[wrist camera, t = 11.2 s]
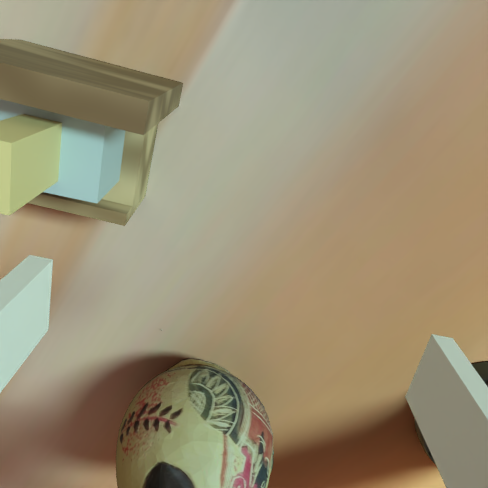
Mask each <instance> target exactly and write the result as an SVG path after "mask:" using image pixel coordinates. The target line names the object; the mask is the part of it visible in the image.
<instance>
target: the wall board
mask: <svg viewBox="0 0 488 488" xmlns="http://www.w3.org/2000/svg"><path fill="white" fill-rule="evenodd" d="M182 85H183V83H181V82H177V81H174V80H170V79H166V78H162V77H159V76H155V75H151V74H147V73H144V72H140V71H136V70H132V69H129V68H125V67H121V66H117V65H113V64H110V63H106V62H102V61H98V60H95V59H91V58H87V57H83V56H80V55H76V54H72V53H68V52H65V51H61V50H57V49H53V48H49V47H46V46H42V45H38V44H34V43H31V42H27V41H23V40H12V39H0V99H2V100H6V101H10V102H14V103H18V104H22V105H26V106H30V107H34V108H38V109H42V110H46V111H50V112H54V113H57V114H61V115H65V116H69V117H73V118H77V119H81V120H85V121H89V122H93V123H97V124H101V125H105V126H109V127H113V128H117V129H121V130H125V138H124V146H123V154H122V162H121V170H120V178H119V181H118V182H117V183H116V185H115V186H114V187H113V188H112V189H111V190H110V191H109V192H108V193H107V194H106V195H105V196H104V197H103V198H102V199H101V200H100V201H99V202H98V203H92V202H87V201H83V200H78V199H73V198H69V197H64V196H59V195H55V194H50V193H45V192H42V193H41V194H39V195H38V196H36V197H35V198H34V199H32V200H31V201H29V202H28V203H30V204H34V205H38V206H43V207H47V208H51V209H55V210H60V211H64V212H68V213H72V214H77V215H81V216H85V217H89V218H94V219H98V220H102V221H106V222H111V223H115V224H119V225H124V226H125V225H126V223H127V222H128V220H129V219H130V217H131V216H132V215H133V213H134V212H135V210H136V209H137V207H138V206H139V204H140V203H141V202H142V200H143V199H144V197H145V194H146V189H147V183H148V177H149V172H150V166H151V160H152V155H153V149H154V143H155V138H156V132H157V127H158V123H159V122H160V121H161V120H162V119H164V118H165V117H166V116H167V115H168V114H170V113H171V112H172V111H173V110H174V109H176V108H177V107H178V106H179V101H180V96H181V91H182Z"/></svg>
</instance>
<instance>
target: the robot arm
mask: <svg viewBox="0 0 488 488" xmlns="http://www.w3.org/2000/svg"><path fill="white" fill-rule="evenodd" d="M52 266H53V259H48V258H43V257H37V256H32V255H29V256H28V257H27V258H25V259H24V260H23V261H22V262H21V263H20V264H19V265H17V266H16V267H15V268H14V269H13V270H12V271H10V272H9V273H8V274H7V275H6V276H5V277H4V278H2V279H1V280H0V393H1V391H2V390H3V389H4V387H5V386H6V385H7V383H8V382H9V381H10V379H11V378H12V377H13V375H14V374H15V373H16V372H17V370H18V369H19V368H20V366H21V365H22V364H23V362H24V361H25V360H26V358H27V357H28V356H29V354H30V353H31V352H32V351H33V349H34V348H35V347H36V345H37V344H38V343H39V341H40V340H41V339H42V337H43V336H44V335H45V333H46V332H47V331H48V327H49V312H50V296H51V281H52ZM405 397H406V400H407V402H408V404H409V406H410V408H411V411H412V413H413V415H414V417H415V428H416V432H417V435H418V437H419V439H420V442H421V444H422V446H423V448H424V450H425V452H426V454H427V455H428V456H429V458H430V459H431V460H432V461H433V462H434V463H435V464H436V466H437V468H438V470H439V472H440V475H441V477H442V479H443V481H444V483H445V486H446V488H488V362H481V363H475V364H471V363H470V362H469V360H468V359H467V357H466V356H465V355H464V353H463V352H462V351H461V349H460V348H459V346H458V345H457V344H456V342H455V341H454V339H453V338H449V337H443V336H438V335H433V334H432V335H431V337H430V339H429V342H428V344H427V347H426V349H425V351H424V354H423V356H422V358H421V361H420V363H419V366H418V368H417V370H416V373H415V375H414V377H413V380H412V382H411V384H410V387H409V389H408V392H407V394H406V396H405Z"/></svg>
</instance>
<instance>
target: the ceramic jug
mask: <svg viewBox="0 0 488 488" xmlns="http://www.w3.org/2000/svg"><path fill="white" fill-rule="evenodd" d="M273 455H274V450H273V433H272V429H271V426H270V421H269V418H268V415H267V413H266V411H265V409H264V406H263V405H262V403H261V402H260V400H259V398H258V397H257V396H256V395H255V394H254V392H253V391H252V390H251V389H250V388H249V387H248V386H247V385H246V384H245V383H243V382H242V381H241V380H239V379H238V378H236V377H235V376H233V375H232V374H230V373H229V372H228V371H227V370H225V369H224V368H222V367H220V366H218V365H216V364H213V363H210V362H206V361H202V360H197V359H186V360H182V361H181V362H179V363H178V364H176V365H175V366H173V367H171V368H170V369H168V370H167V371H165V372H163V373H161V374H159V375H158V376H156V377H155V378H154V379H152V380H151V381H149V382H148V383H147V384H145V386H144V387H143V388H142V389H141V390H140V391H139V392H138V393H137V395H136V396H135V397H134V399H133V400H132V402H131V404H130V405H129V407H128V409H127V411H126V414H125V416H124V418H123V420H122V423H121V426H120V429H119V435H118V441H117V449H116V479H117V486H118V488H267V486H268V483H269V478H270V473H271V470H272V467H273Z"/></svg>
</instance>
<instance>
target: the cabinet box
mask: <svg viewBox="0 0 488 488" xmlns="http://www.w3.org/2000/svg"><path fill="white" fill-rule="evenodd" d="M124 138H125V130H121V129H117V128H113V127H109V126H105V125H101V124H97V123H93V122H89V121H85V120H81V119H77V118H73V117H69V116H65V115H61V114H57V113H54V112H50V111H46V110H42V109H38V108H34V107H30V106H26V105H22V104H18V103H14V102H10V101H6V100H2V99H0V214H5V215H11V214H12V213H14V212H15V211H16V210H18V209H19V208H21V207H22V206H24V205H25V204H26V203H28V202H29V201H31V200H32V199H34V198H35V197H36V196H38V195H39V194H41V193H42V192H45V193H50V194H55V195H59V196H64V197H69V198H73V199H78V200H83V201H87V202H92V203H98V202H99V201H100V200H101V199H102V198H103V197H104V196H105V195H106V194H107V193H108V192H109V191H110V190H111V189H112V188H113V187H114V186H115V185H116V183H117V182H118V181H119V178H120V170H121V162H122V154H123V146H124Z"/></svg>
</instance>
